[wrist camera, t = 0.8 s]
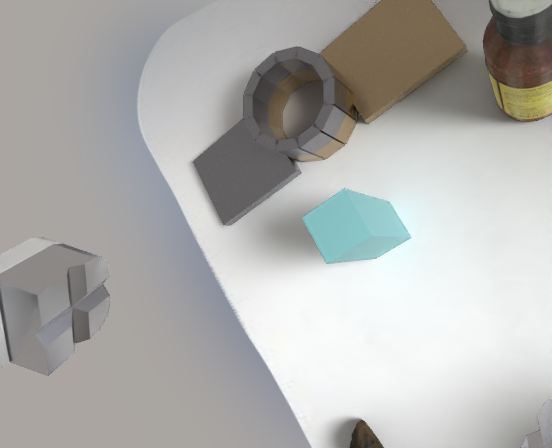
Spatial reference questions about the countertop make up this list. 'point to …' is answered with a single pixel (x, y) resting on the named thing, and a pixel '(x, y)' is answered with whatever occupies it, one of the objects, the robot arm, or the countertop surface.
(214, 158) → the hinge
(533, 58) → the sauce bottle
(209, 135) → the countertop surface
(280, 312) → the countertop surface
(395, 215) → the teal square block
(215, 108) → the countertop surface
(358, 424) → the hand tool
